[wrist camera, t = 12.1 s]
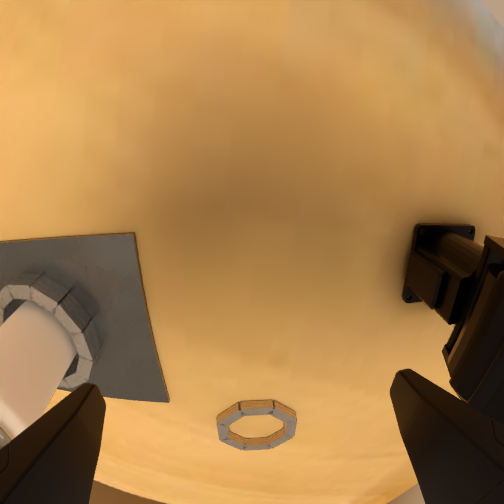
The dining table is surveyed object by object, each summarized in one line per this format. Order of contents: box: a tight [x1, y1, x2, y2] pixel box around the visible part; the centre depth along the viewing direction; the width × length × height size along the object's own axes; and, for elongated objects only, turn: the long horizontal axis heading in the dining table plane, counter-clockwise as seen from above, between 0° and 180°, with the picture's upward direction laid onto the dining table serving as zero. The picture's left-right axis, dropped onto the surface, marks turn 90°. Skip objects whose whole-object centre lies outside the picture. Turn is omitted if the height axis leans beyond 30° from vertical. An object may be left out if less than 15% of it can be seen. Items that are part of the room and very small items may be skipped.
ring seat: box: [0, 232, 170, 403], centre depth 21 cm, size 18×16×2 cm
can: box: [0, 300, 77, 449], centre depth 16 cm, size 6×6×12 cm
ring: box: [217, 400, 297, 450], centre depth 26 cm, size 8×8×1 cm
